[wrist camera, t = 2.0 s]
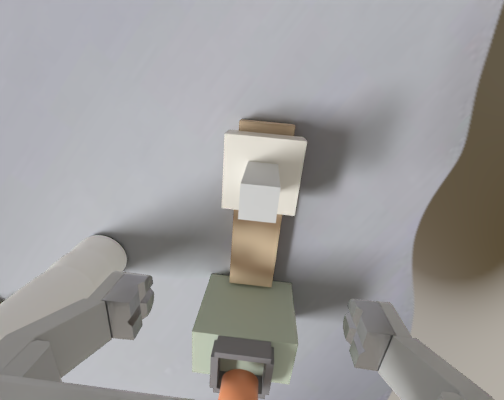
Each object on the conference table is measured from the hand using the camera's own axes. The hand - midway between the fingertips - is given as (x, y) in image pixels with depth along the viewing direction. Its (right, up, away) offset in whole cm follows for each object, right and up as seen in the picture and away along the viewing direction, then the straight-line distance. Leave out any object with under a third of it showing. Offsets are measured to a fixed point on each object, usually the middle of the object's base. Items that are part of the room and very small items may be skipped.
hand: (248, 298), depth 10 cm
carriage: (+1, +8, +18) cm, 20 cm away
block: (+1, +3, +22) cm, 23 cm away
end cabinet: (0, -11, +28) cm, 30 cm away
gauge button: (-1, -16, +17) cm, 23 cm away
